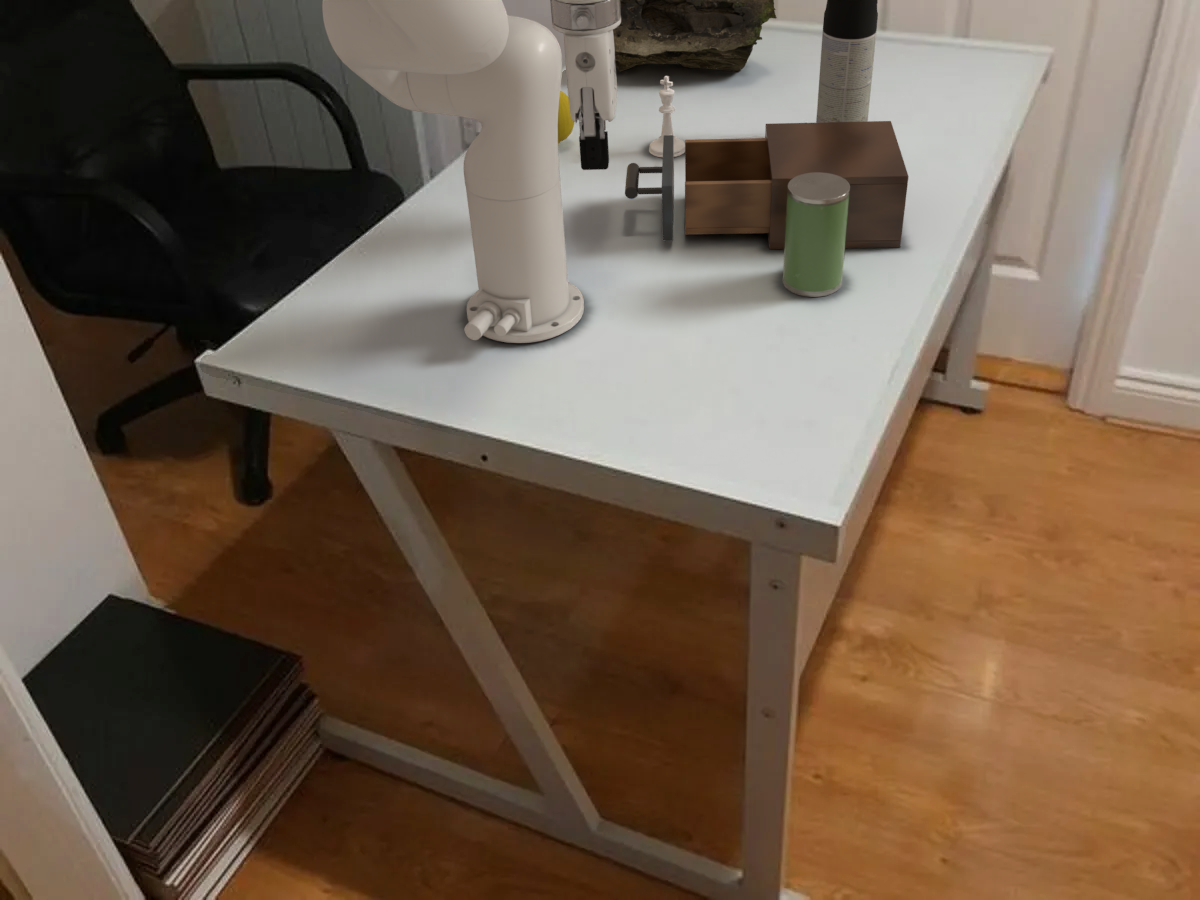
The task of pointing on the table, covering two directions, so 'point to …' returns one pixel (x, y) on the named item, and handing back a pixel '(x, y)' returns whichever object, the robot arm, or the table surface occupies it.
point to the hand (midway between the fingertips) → (595, 166)
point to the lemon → (564, 118)
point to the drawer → (713, 186)
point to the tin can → (815, 233)
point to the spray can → (847, 60)
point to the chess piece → (666, 122)
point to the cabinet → (842, 175)
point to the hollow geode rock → (690, 32)
